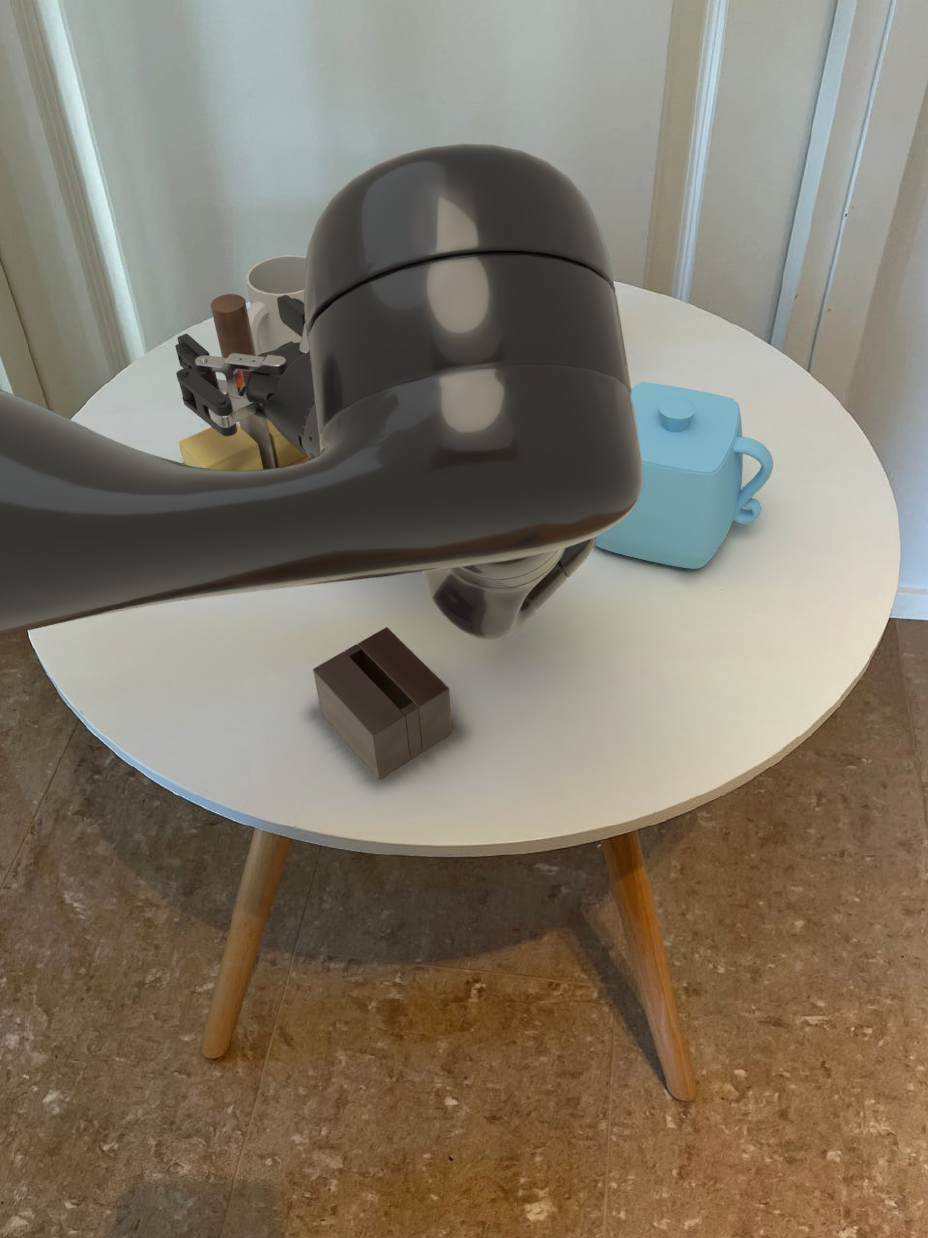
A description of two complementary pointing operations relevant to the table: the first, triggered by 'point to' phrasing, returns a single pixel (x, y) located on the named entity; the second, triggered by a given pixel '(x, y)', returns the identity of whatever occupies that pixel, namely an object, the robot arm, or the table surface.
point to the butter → (236, 450)
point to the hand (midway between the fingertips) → (233, 325)
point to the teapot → (687, 477)
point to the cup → (273, 299)
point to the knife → (239, 340)
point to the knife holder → (383, 702)
